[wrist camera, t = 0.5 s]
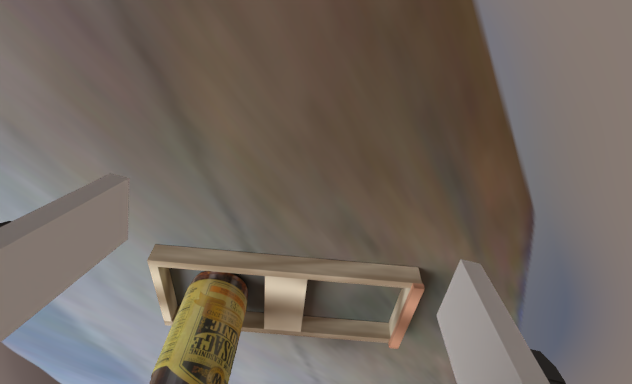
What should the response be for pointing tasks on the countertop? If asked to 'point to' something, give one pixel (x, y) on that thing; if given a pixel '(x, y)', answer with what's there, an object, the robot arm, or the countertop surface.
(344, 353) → the countertop surface
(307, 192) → the countertop surface
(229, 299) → the sauce bottle
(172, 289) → the bottle rack
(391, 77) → the countertop surface
